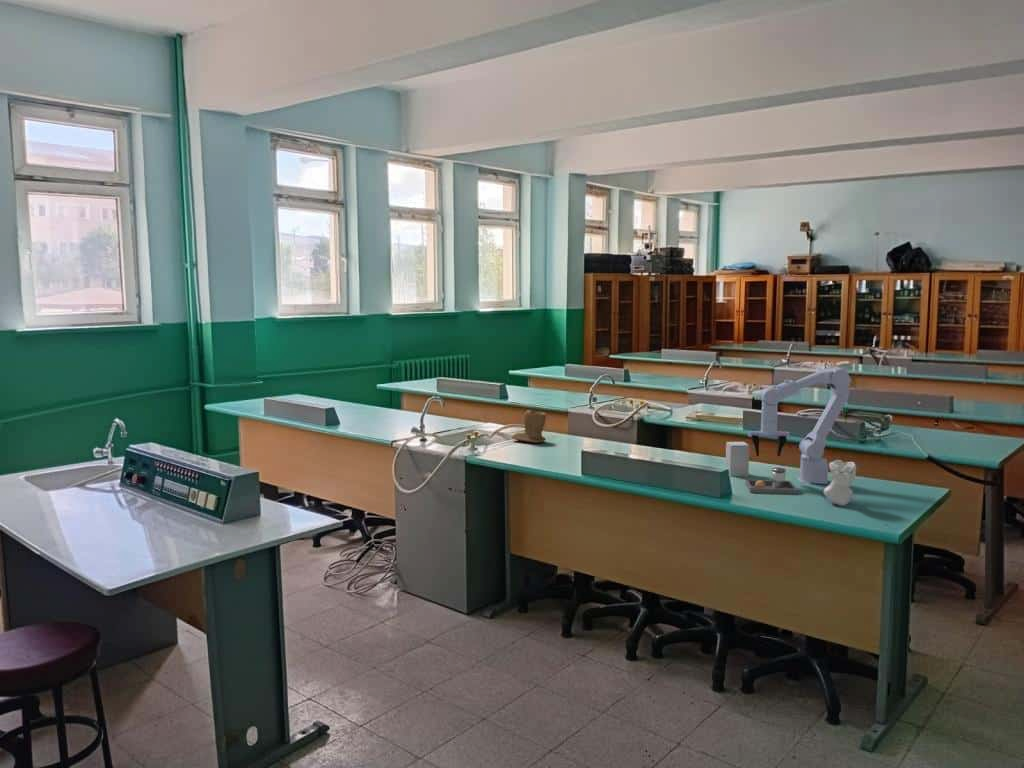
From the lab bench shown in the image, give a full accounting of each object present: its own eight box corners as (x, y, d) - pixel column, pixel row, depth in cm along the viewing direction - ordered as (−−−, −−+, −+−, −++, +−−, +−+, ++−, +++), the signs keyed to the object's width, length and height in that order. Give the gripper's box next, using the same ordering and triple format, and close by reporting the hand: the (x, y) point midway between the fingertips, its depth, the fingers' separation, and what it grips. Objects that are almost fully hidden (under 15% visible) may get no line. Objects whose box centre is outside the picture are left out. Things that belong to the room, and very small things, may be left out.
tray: (790, 486, 290) (790, 480, 290) (796, 495, 279) (797, 489, 278) (745, 485, 293) (745, 479, 293) (750, 494, 281) (750, 488, 281)
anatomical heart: (847, 500, 272) (849, 457, 270) (862, 509, 261) (864, 465, 259) (819, 500, 272) (821, 458, 270) (833, 510, 260) (835, 466, 259)
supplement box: (748, 477, 305) (749, 445, 303) (729, 477, 305) (730, 445, 303) (743, 472, 312) (744, 441, 311) (724, 472, 312) (725, 441, 311)
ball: (764, 488, 286) (764, 479, 285) (765, 491, 282) (766, 482, 282) (754, 488, 286) (754, 479, 286) (755, 491, 283) (755, 481, 282)
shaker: (783, 486, 289) (783, 467, 288) (786, 489, 284) (787, 470, 283) (770, 486, 289) (770, 467, 288) (773, 489, 285) (774, 470, 284)
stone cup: (551, 441, 377) (551, 410, 375) (536, 445, 367) (536, 413, 365) (525, 437, 386) (525, 407, 384) (511, 441, 376) (510, 410, 374)
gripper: (750, 421, 292) (749, 457, 294) (791, 422, 290) (790, 458, 292) (747, 418, 299) (746, 453, 301) (787, 419, 297) (786, 454, 299)
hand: (767, 455), depth 297 cm, fingers open, 7 cm apart
